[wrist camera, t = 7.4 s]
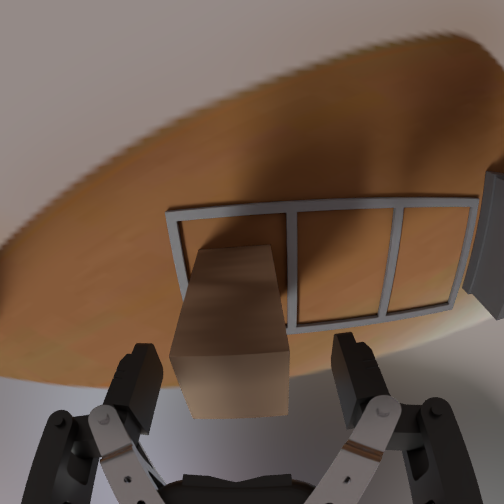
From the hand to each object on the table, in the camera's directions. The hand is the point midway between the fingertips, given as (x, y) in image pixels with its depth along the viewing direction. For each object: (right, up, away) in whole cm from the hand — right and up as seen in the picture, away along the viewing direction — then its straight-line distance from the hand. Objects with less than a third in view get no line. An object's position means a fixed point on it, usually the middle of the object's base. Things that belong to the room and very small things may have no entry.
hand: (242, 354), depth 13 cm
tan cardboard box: (0, +3, +7) cm, 7 cm away
